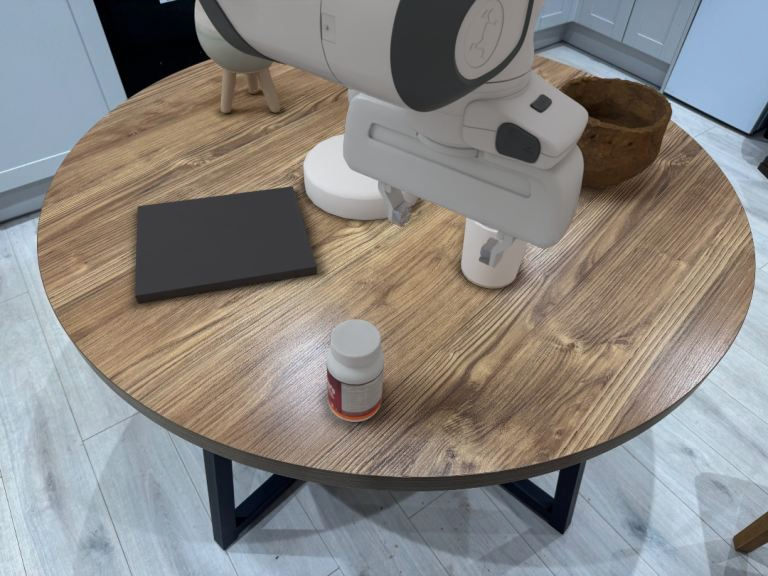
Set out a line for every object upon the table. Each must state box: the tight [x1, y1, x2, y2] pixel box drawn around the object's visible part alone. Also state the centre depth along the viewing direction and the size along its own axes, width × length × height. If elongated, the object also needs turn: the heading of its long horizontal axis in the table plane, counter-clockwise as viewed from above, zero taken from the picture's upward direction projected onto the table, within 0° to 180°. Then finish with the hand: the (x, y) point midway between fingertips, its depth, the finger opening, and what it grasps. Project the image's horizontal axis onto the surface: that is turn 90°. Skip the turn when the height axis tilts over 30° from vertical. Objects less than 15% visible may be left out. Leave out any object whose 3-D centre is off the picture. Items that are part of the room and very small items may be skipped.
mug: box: [460, 217, 528, 290], centre depth 79 cm, size 11×9×10 cm
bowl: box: [558, 75, 673, 188], centre depth 95 cm, size 19×19×15 cm
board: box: [134, 185, 318, 304], centre depth 84 cm, size 24×20×2 cm
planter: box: [194, 0, 281, 114], centre depth 107 cm, size 16×16×22 cm
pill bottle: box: [325, 318, 385, 423], centre depth 61 cm, size 6×6×11 cm
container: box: [302, 133, 420, 221], centre depth 95 cm, size 20×20×5 cm
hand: (442, 240), depth 51 cm, fingers open, 8 cm apart
